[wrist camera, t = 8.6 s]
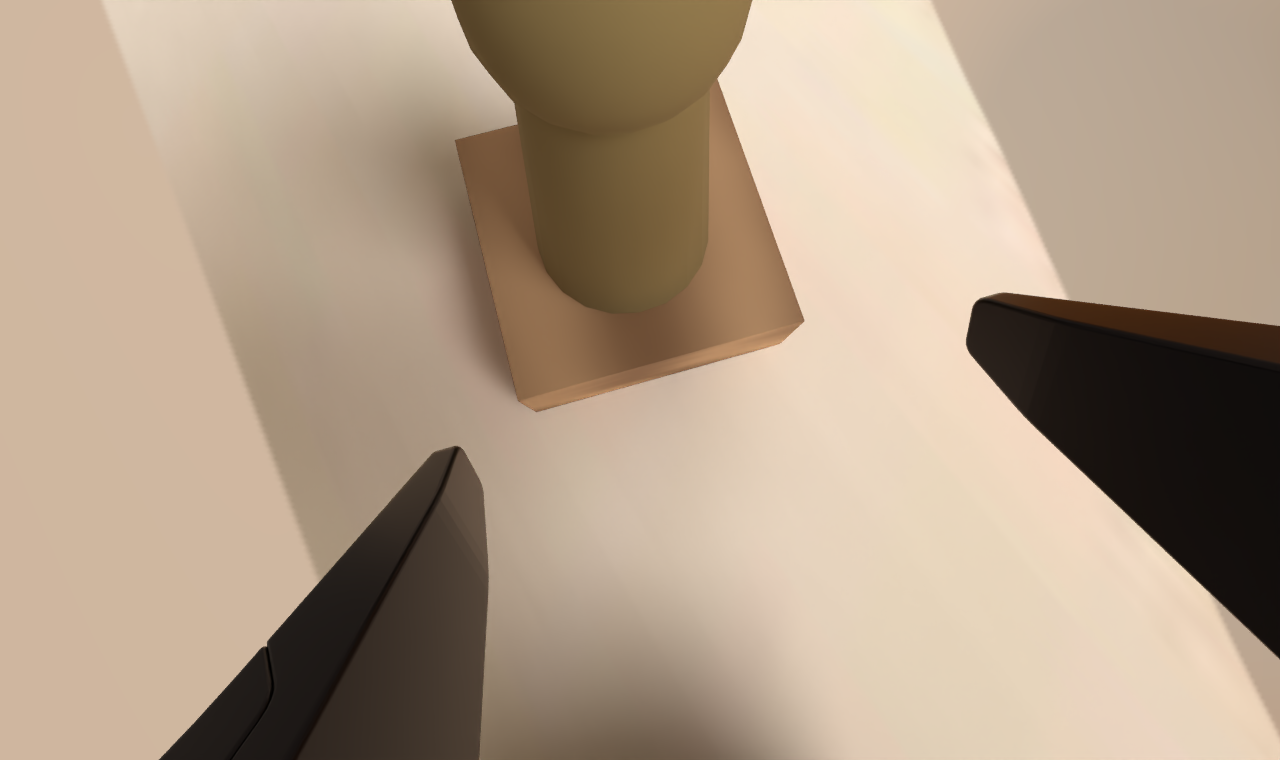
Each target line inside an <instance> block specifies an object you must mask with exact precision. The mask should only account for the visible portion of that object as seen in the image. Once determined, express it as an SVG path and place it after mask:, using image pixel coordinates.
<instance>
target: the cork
mask: <svg viewBox="0 0 1280 760" xmlns="http://www.w3.org/2000/svg"><path fill="white" fill-rule="evenodd" d="M451 1H452V4H453V6H454V9H455V12H456V15H457V17H458V20H459V22H460V25H461V27H462V29H463V32H464V34H465V37H466V39H467V41H468V44H469V46H470V48H471V50H472V52H473V53H474V54H475V56H476V57H477V58H478V60H479V61H480V62H481V64H482V65H483V66H484V67H485V69H486V70H487V71H488V73H489V74H490V75H491V76H492V78H493V79H494V80H495V81H496V82H497V83H498V85H499V86H500V87H501V88H502V89H503V90H504V92H505V93H506V94H507V95H508V96H509V97H510V99H511V100H512V101H513V102H514V103H515V110H516V116H517V122H518V128H519V134H520V141H521V147H522V153H523V159H524V165H525V172H526V178H527V184H528V190H529V196H530V202H531V209H532V215H533V221H534V227H535V233H536V240H537V246H538V250H539V253H540V255H541V258H542V261H543V264H544V266H545V269H546V272H547V273H548V274H549V276H550V277H551V278H552V279H553V281H554V282H555V283H556V284H557V286H558V287H559V288H560V289H561V290H562V292H563V293H565V294H566V295H568V296H570V297H571V298H573V299H574V300H576V301H577V302H579V303H581V304H582V305H584V306H585V307H589V308H593V309H596V310H600V311H604V312H608V313H612V314H617V313H639V312H643V311H645V310H648V309H651V308H654V307H657V306H659V305H662V304H665V303H667V302H668V301H669V300H671V299H672V298H673V297H675V296H676V295H677V294H678V293H680V292H681V291H682V290H684V289H685V288H686V287H687V286H688V285H689V283H690V282H691V280H692V279H693V277H694V276H695V274H696V273H697V272H698V270H699V269H700V267H701V266H702V263H703V259H704V255H705V251H706V248H707V244H708V224H709V127H710V88H711V86H712V85H713V84H714V82H715V81H716V79H717V78H718V77H719V75H720V74H721V72H722V71H723V70H724V68H725V67H726V66H727V64H728V62H729V61H730V59H731V57H732V55H733V53H734V52H735V50H736V48H737V46H738V44H739V43H740V41H741V39H742V36H743V32H744V28H745V25H746V21H747V17H748V14H749V10H750V7H751V3H752V0H451Z"/></svg>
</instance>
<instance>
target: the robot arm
mask: <svg viewBox="0 0 1280 760" xmlns="http://www.w3.org/2000/svg"><path fill="white" fill-rule="evenodd" d="M966 346H967V349H968V351H969V353H970V355H971V356H972V357H973V358H974V359H975V361H976V362H977V363H978V364H979V365H980V366H981V367H982V369H983V370H984V371H985V372H986V373H987V374H988V376H989V377H990V378H991V379H992V380H993V381H994V383H995V384H996V385H997V386H998V387H999V388H1000V389H1001V391H1002V392H1003V393H1004V394H1005V395H1006V396H1007V398H1008V399H1009V400H1010V401H1011V402H1012V403H1013V405H1014V406H1015V407H1016V408H1017V409H1018V410H1019V411H1020V412H1021V413H1022V415H1023V416H1024V417H1025V418H1026V419H1027V420H1028V421H1029V422H1030V423H1031V424H1032V425H1033V426H1034V427H1035V428H1036V429H1037V430H1038V431H1039V432H1040V433H1041V434H1043V435H1044V436H1045V437H1046V438H1047V439H1048V440H1049V441H1050V442H1051V443H1052V444H1053V445H1054V446H1055V447H1056V448H1057V449H1058V450H1059V451H1060V452H1062V453H1063V454H1064V455H1065V456H1066V457H1067V458H1068V459H1069V460H1070V461H1071V462H1072V463H1073V464H1074V465H1075V466H1076V467H1077V468H1078V469H1079V470H1080V471H1082V472H1083V473H1084V474H1085V475H1086V476H1087V477H1088V478H1089V479H1090V480H1091V481H1092V482H1093V483H1094V484H1095V485H1096V486H1097V487H1098V488H1099V489H1101V490H1102V491H1103V492H1104V493H1105V494H1106V495H1107V496H1108V497H1109V498H1110V499H1111V500H1112V501H1113V502H1114V503H1115V504H1116V505H1117V506H1118V507H1120V508H1121V509H1122V510H1123V511H1124V512H1125V513H1126V514H1127V515H1128V516H1129V517H1130V518H1131V519H1132V520H1133V521H1134V522H1135V523H1136V524H1137V525H1138V526H1140V527H1141V528H1142V529H1143V530H1144V531H1145V532H1146V533H1147V534H1148V535H1149V536H1150V537H1151V538H1152V539H1153V540H1154V541H1155V542H1156V543H1157V544H1159V545H1160V546H1161V547H1162V548H1163V549H1164V550H1165V551H1166V552H1167V553H1168V554H1169V555H1170V556H1171V557H1172V558H1173V559H1174V560H1175V561H1176V562H1177V563H1179V564H1180V565H1181V566H1182V567H1183V568H1184V569H1185V570H1186V571H1187V572H1188V573H1189V574H1190V575H1191V576H1192V577H1193V578H1194V579H1195V580H1196V581H1198V582H1199V583H1200V584H1201V585H1202V586H1203V587H1204V588H1205V589H1206V590H1207V591H1208V592H1209V593H1210V594H1211V595H1212V596H1213V597H1214V598H1215V599H1217V600H1218V601H1219V602H1220V603H1221V604H1222V605H1223V606H1224V607H1225V608H1226V609H1227V610H1228V611H1229V612H1230V613H1232V615H1233V616H1234V617H1235V618H1237V619H1238V620H1239V621H1240V622H1241V623H1242V624H1243V625H1244V626H1245V627H1246V628H1247V629H1248V630H1249V631H1250V632H1251V633H1252V634H1253V635H1254V636H1256V637H1257V638H1258V639H1259V640H1260V641H1261V642H1262V643H1263V644H1264V645H1265V646H1266V647H1267V648H1268V649H1269V650H1270V651H1272V653H1273V654H1275V655H1276V656H1277V657H1278V658H1279V659H1280V326H1275V325H1267V324H1259V323H1250V322H1242V321H1233V320H1226V319H1217V318H1210V317H1201V316H1193V315H1185V314H1177V313H1169V312H1160V311H1152V310H1144V309H1136V308H1127V307H1120V306H1111V305H1103V304H1095V303H1087V302H1079V301H1070V300H1062V299H1054V298H1046V297H1038V296H1029V295H1021V294H1013V293H997V294H994V295H990V296H987V297H983V298H980V299H979V300H977V301H976V302H975V304H974V305H973V308H972V312H971V317H970V322H969V327H968V332H967V337H966ZM488 582H489V573H488V554H487V539H486V524H485V509H484V495H483V488H482V485H481V482H480V480H479V478H478V476H477V474H476V472H475V470H474V468H473V467H472V465H471V463H470V461H469V459H468V457H467V455H466V454H465V452H464V450H463V449H462V448H461V447H458V446H454V447H450V448H446V449H443V450H439V451H436V452H434V453H433V454H432V455H431V456H430V457H429V458H428V459H427V460H426V461H425V462H424V464H423V465H422V466H421V467H420V468H419V469H418V470H417V472H416V473H415V474H414V475H413V476H412V477H411V478H410V480H409V481H408V482H407V483H406V484H405V485H404V486H403V488H402V489H401V490H400V491H399V492H398V493H397V494H396V495H395V497H394V498H393V499H392V500H391V501H390V502H389V503H388V505H387V506H386V507H385V508H384V509H383V510H382V511H381V513H380V514H379V515H378V516H377V517H376V518H375V519H374V521H373V522H372V523H371V524H370V525H369V526H368V527H367V528H366V530H365V531H364V532H363V533H362V534H361V535H360V536H359V538H358V539H357V540H356V541H355V542H354V543H353V544H352V546H351V547H350V548H349V549H348V550H347V551H346V552H345V554H344V555H343V556H342V557H341V558H340V559H339V560H338V561H337V563H336V564H335V565H334V566H333V567H332V568H331V569H330V571H329V572H328V573H327V574H326V575H325V576H324V577H323V579H322V580H321V581H320V582H319V583H318V584H317V585H316V586H315V588H314V589H313V590H312V591H311V592H310V593H309V595H308V596H307V597H306V598H305V599H304V600H303V602H301V604H300V605H299V606H298V607H297V608H296V609H295V610H294V612H293V613H292V614H291V615H290V616H289V617H288V618H287V619H286V621H285V622H284V623H283V624H282V625H281V626H280V627H279V629H278V630H277V631H276V632H275V633H274V634H273V635H272V637H271V638H270V639H269V640H268V642H267V647H262V648H261V649H260V650H259V651H258V652H257V653H256V655H255V656H254V657H253V658H252V659H251V660H250V661H249V663H248V664H247V665H246V666H245V667H244V668H243V669H242V670H241V672H240V673H239V674H238V675H237V676H236V677H235V678H234V680H233V681H232V682H231V683H230V684H229V685H228V686H227V687H226V688H225V690H224V691H223V692H222V693H221V694H220V695H219V696H218V697H217V699H215V700H214V702H213V703H212V704H211V705H210V706H209V707H208V708H207V709H206V710H205V712H204V713H203V714H202V715H201V716H200V717H199V718H198V719H197V720H196V722H195V723H194V724H193V725H192V726H191V727H190V728H189V729H188V730H187V731H186V732H185V733H184V734H183V735H182V736H181V737H180V738H179V739H178V740H177V742H176V743H175V744H174V745H173V746H172V747H171V748H170V749H169V750H168V751H167V752H166V753H165V754H164V755H163V756H162V757H161V758H160V759H159V760H479V751H480V733H481V714H482V696H483V678H484V660H485V642H486V624H487V605H488Z"/></svg>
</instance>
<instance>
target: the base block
mask: <svg viewBox="0 0 1280 760" xmlns="http://www.w3.org/2000/svg"><path fill="white" fill-rule="evenodd" d="M455 142H456V146H457V151H458V155H459V159H460V163H461V167H462V171H463V175H464V180H465V184H466V188H467V192H468V196H469V200H470V204H471V209H472V213H473V217H474V221H475V225H476V229H477V233H478V237H479V242H480V246H481V250H482V254H483V258H484V262H485V266H486V271H487V275H488V279H489V283H490V287H491V291H492V295H493V300H494V304H495V308H496V312H497V316H498V320H499V324H500V328H501V333H502V337H503V341H504V345H505V349H506V353H507V357H508V362H509V366H510V370H511V374H512V378H513V382H514V386H515V390H516V395H517V399H518V401H519V402H521V403H522V404H524V405H526V406H527V407H529V408H531V409H532V410H534V411H536V412H538V411H542V410H545V409H549V408H552V407H556V406H559V405H563V404H567V403H570V402H574V401H577V400H581V399H584V398H588V397H592V396H595V395H599V394H602V393H606V392H609V391H613V390H617V389H620V388H624V387H627V386H631V385H634V384H638V383H642V382H645V381H649V380H652V379H656V378H659V377H663V376H667V375H670V374H674V373H677V372H681V371H684V370H688V369H692V368H695V367H699V366H702V365H706V364H709V363H713V362H717V361H720V360H724V359H727V358H731V357H734V356H738V355H742V354H745V353H749V352H752V351H756V350H759V349H763V348H766V347H770V346H774V345H777V344H780V343H781V342H782V341H783V340H785V339H786V338H787V337H788V336H789V335H790V334H791V333H792V332H793V331H794V330H795V329H796V328H798V327H799V326H800V325H801V324H802V323H803V322H804V318H803V315H802V313H801V310H800V307H799V304H798V302H797V299H796V296H795V293H794V290H793V288H792V285H791V282H790V279H789V277H788V274H787V271H786V268H785V265H784V263H783V260H782V257H781V254H780V252H779V249H778V246H777V243H776V240H775V238H774V235H773V232H772V229H771V227H770V224H769V221H768V218H767V216H766V213H765V210H764V207H763V204H762V202H761V199H760V196H759V193H758V191H757V188H756V185H755V182H754V179H753V177H752V174H751V171H750V168H749V166H748V163H747V160H746V157H745V155H744V152H743V149H742V146H741V143H740V141H739V138H738V135H737V132H736V130H735V127H734V124H733V121H732V118H731V116H730V113H729V110H728V107H727V105H726V102H725V99H724V96H723V94H722V91H721V88H720V85H719V82H718V80H717V79H716V81H715V82H714V84H713V85H712V86H711V88H710V127H709V224H708V244H707V248H706V251H705V255H704V259H703V263H702V266H701V267H700V269H699V270H698V272H697V273H696V274H695V276H694V277H693V279H692V280H691V282H690V283H689V285H688V286H687V287H686V288H685V289H684V290H682V291H681V292H680V293H678V294H677V295H676V296H675V297H673V298H672V299H671V300H669V301H668V302H667V303H665V304H662V305H659V306H657V307H654V308H651V309H648V310H645V311H643V312H639V313H617V314H612V313H608V312H604V311H600V310H596V309H593V308H589V307H585V306H584V305H582V304H581V303H579V302H577V301H576V300H574V299H573V298H571V297H570V296H568V295H566V294H565V293H563V292H562V290H561V289H560V288H559V287H558V286H557V284H556V283H555V282H554V281H553V279H552V278H551V277H550V276H549V274H548V273H547V272H546V269H545V266H544V264H543V261H542V258H541V255H540V253H539V250H538V246H537V240H536V233H535V227H534V221H533V215H532V209H531V202H530V196H529V190H528V184H527V178H526V172H525V165H524V159H523V153H522V147H521V141H520V134H519V128H518V125H514V126H510V127H506V128H502V129H498V130H494V131H490V132H486V133H482V134H478V135H474V136H470V137H466V138H462V139H458V140H455Z"/></svg>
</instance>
